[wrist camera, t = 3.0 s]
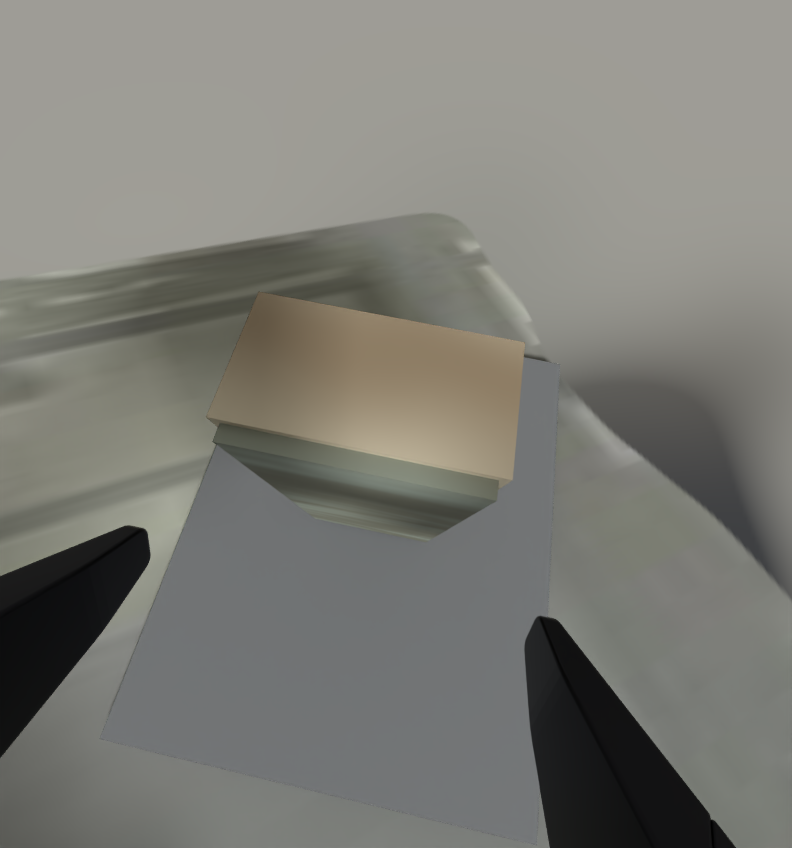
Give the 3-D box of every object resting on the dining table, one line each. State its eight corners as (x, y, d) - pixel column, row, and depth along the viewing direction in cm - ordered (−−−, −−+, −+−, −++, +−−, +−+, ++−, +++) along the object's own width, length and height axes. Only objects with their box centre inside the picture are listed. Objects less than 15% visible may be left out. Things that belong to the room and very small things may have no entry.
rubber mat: (531, 835, 15) (536, 845, 15) (109, 733, 16) (99, 738, 15) (555, 369, 23) (559, 364, 23) (273, 314, 24) (270, 308, 23)
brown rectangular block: (429, 543, 19) (510, 501, 7) (311, 518, 19) (198, 436, 7) (440, 475, 20) (524, 342, 8) (330, 452, 20) (258, 291, 8)
